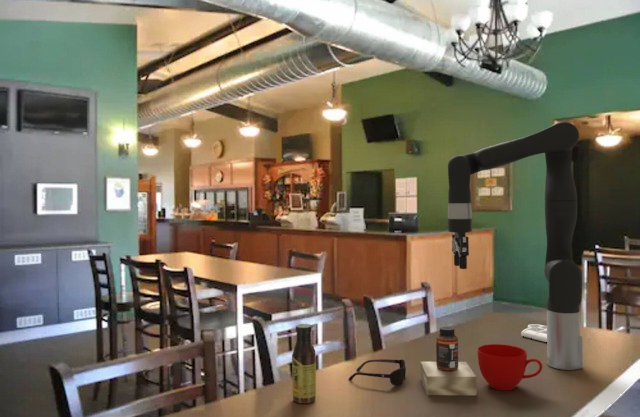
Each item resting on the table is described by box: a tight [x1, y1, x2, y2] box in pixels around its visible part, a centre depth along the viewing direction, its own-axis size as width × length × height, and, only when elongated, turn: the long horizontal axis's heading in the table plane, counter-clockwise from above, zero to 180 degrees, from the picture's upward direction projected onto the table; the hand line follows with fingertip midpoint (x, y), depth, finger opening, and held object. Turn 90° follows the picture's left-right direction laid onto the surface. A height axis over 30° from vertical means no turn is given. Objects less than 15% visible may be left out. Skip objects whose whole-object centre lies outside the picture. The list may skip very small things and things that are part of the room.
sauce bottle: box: [291, 323, 317, 404], centre depth 137 cm, size 7×6×20 cm
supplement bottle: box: [435, 326, 459, 371], centre depth 145 cm, size 6×6×11 cm
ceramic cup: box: [477, 343, 543, 391], centre depth 144 cm, size 13×17×10 cm
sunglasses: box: [348, 358, 407, 387], centre depth 153 cm, size 14×16×5 cm
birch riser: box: [420, 361, 478, 396], centre depth 145 cm, size 13×13×5 cm
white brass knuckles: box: [520, 323, 547, 343], centre depth 195 cm, size 3×18×15 cm
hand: (460, 267), depth 169 cm, fingers open, 8 cm apart
